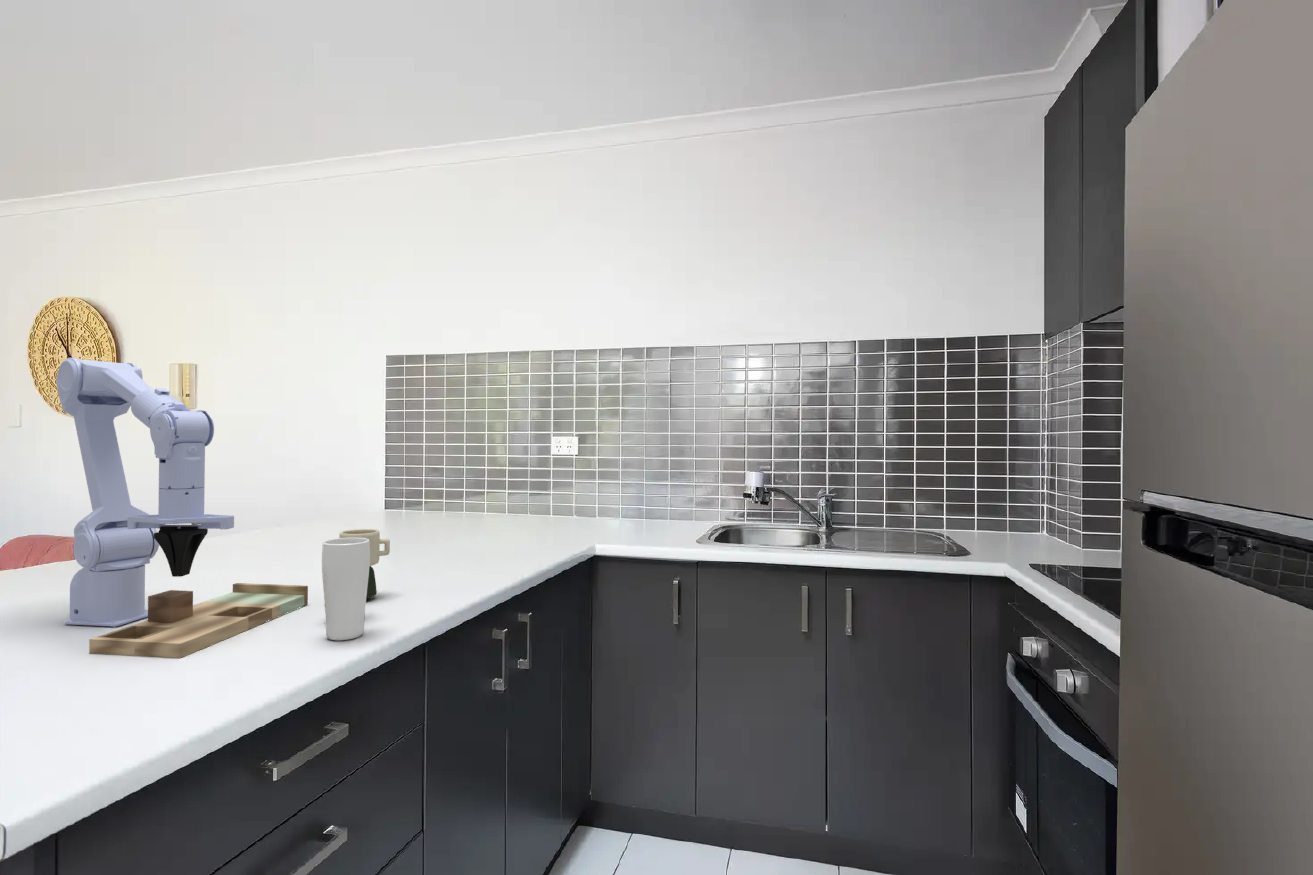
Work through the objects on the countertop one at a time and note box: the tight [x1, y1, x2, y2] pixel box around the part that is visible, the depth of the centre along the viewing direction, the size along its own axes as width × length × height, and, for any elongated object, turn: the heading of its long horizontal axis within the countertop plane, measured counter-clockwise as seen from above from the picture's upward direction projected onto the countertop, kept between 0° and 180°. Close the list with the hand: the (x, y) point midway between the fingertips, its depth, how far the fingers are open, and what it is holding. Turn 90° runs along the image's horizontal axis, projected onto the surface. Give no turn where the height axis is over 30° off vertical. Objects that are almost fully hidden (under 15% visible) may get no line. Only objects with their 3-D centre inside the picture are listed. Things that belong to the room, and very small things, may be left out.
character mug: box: [338, 528, 391, 600], centre depth 121 cm, size 11×7×13 cm, turn 126°
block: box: [147, 589, 194, 623], centre depth 100 cm, size 4×4×4 cm
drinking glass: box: [321, 537, 370, 642], centre depth 99 cm, size 7×7×15 cm
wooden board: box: [88, 582, 309, 659], centre depth 104 cm, size 14×28×4 cm, turn 175°
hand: (180, 575), depth 98 cm, fingers closed
